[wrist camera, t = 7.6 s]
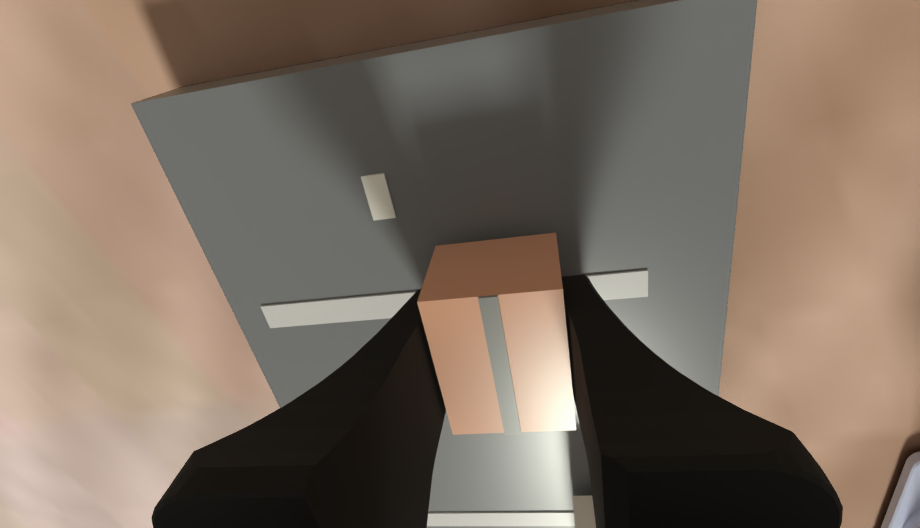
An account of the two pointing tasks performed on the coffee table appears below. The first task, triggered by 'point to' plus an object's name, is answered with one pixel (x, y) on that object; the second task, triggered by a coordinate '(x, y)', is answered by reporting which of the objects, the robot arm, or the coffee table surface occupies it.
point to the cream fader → (584, 512)
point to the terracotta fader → (499, 335)
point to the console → (475, 201)
